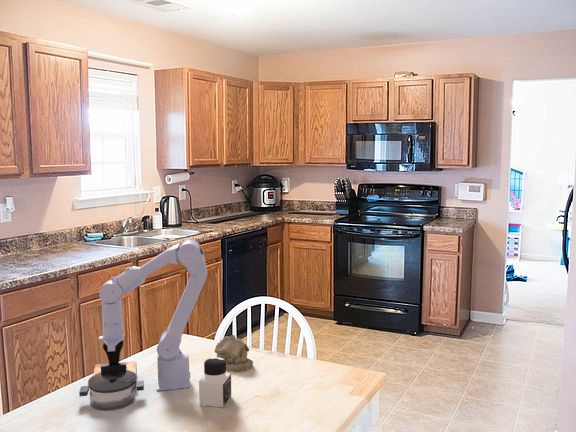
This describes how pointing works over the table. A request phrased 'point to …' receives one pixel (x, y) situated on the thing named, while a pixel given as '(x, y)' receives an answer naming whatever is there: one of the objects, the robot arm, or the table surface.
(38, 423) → the table surface
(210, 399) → the medicine bottle
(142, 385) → the cooker
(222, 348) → the ceramic model
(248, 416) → the table surface
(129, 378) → the lid
